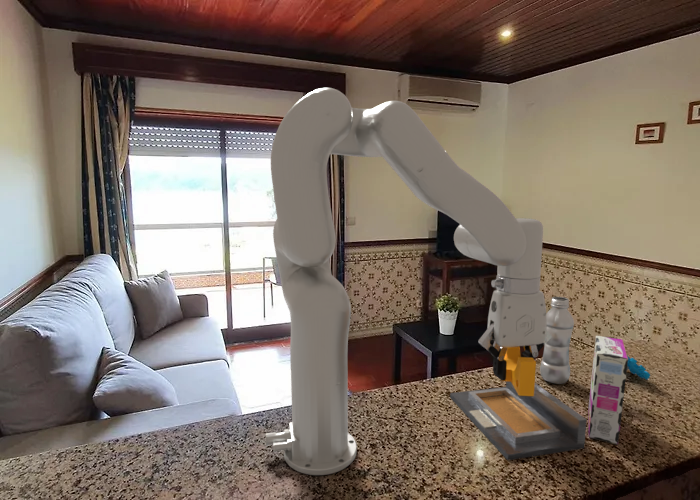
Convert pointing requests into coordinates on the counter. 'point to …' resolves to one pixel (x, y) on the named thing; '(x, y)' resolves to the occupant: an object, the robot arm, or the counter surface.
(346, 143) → the robot arm
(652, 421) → the counter surface
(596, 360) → the candy bar box
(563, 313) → the plastic bottle
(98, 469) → the counter surface
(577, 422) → the grey tray with recess
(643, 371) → the gear
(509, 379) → the orange notched block
